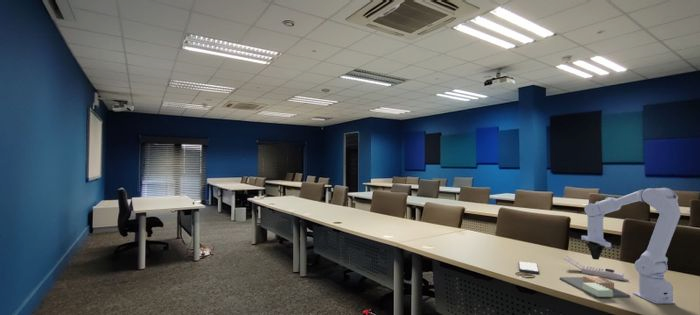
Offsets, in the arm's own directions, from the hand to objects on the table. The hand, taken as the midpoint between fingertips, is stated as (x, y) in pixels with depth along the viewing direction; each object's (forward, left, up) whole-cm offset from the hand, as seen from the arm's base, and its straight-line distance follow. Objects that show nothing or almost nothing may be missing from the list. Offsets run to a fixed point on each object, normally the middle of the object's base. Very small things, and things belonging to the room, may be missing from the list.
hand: (595, 259), depth 145 cm
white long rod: (+8, -6, -10) cm, 14 cm away
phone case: (+16, +22, -10) cm, 29 cm away
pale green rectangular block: (-17, +13, -9) cm, 23 cm away
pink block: (-9, +7, -9) cm, 15 cm away
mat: (-9, +9, -9) cm, 16 cm away
